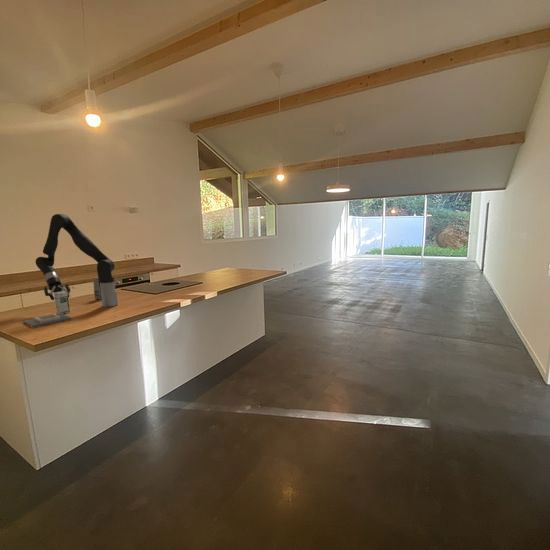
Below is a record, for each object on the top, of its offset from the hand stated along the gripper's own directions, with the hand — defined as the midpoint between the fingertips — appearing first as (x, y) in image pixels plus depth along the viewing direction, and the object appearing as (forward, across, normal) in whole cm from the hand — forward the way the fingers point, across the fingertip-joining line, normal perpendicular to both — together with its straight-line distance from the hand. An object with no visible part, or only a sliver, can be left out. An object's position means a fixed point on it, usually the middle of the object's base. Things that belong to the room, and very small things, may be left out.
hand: (60, 298), depth 215 cm
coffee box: (-10, +36, +24) cm, 44 cm away
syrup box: (+8, 0, +6) cm, 10 cm away
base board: (+18, -13, -4) cm, 22 cm away
